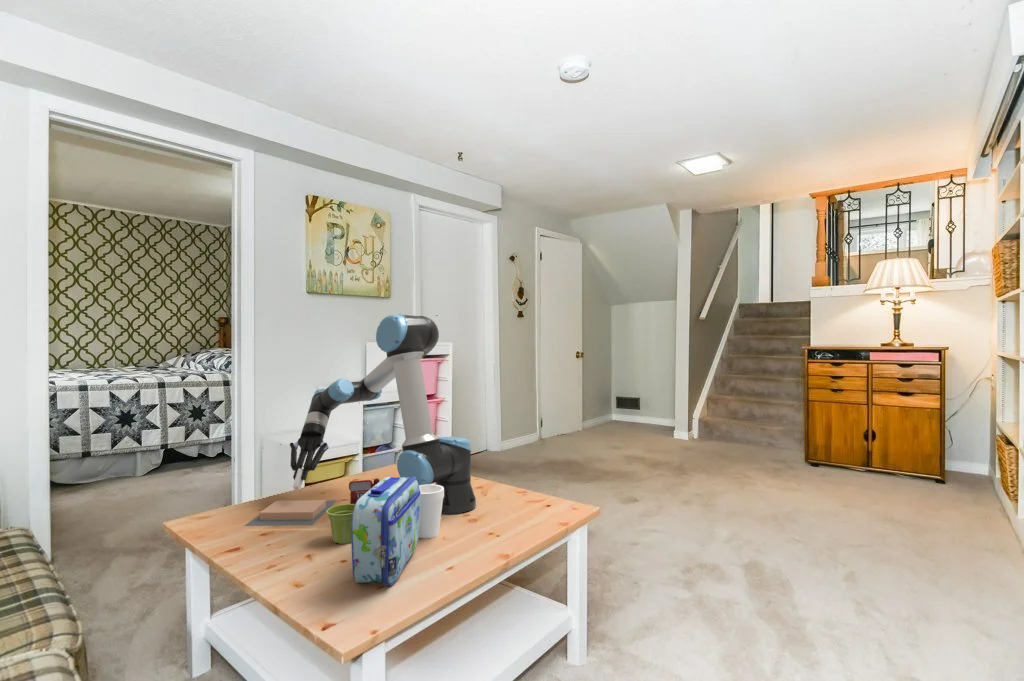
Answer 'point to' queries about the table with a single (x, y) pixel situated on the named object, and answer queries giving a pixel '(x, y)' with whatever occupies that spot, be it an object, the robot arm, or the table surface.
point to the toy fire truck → (360, 489)
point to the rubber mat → (257, 521)
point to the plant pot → (341, 522)
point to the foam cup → (430, 510)
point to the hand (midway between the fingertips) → (296, 488)
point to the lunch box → (385, 530)
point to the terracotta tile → (293, 510)
